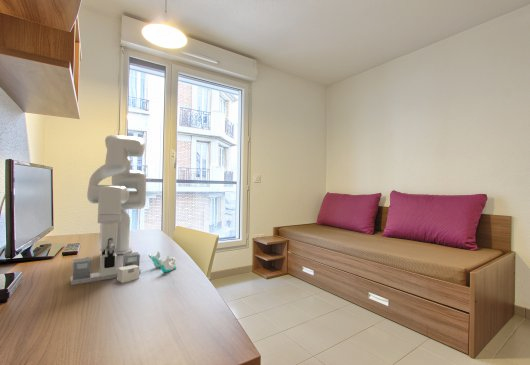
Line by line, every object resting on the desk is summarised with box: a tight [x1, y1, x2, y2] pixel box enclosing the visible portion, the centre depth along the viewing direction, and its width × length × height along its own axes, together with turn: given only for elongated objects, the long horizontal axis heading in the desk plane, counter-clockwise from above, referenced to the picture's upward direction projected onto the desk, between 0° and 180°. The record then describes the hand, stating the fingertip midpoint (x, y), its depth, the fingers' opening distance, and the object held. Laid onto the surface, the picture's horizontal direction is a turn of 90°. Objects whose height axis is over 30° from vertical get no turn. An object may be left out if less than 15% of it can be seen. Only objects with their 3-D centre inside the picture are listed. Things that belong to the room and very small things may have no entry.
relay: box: [116, 265, 140, 284], centre depth 97 cm, size 4×6×4 cm
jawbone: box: [148, 251, 177, 274], centre depth 110 cm, size 12×8×9 cm, turn 45°
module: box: [99, 254, 118, 276], centre depth 98 cm, size 5×5×6 cm
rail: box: [70, 251, 142, 286], centre depth 98 cm, size 5×22×8 cm, turn 127°
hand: (107, 264), depth 98 cm, fingers open, 9 cm apart
